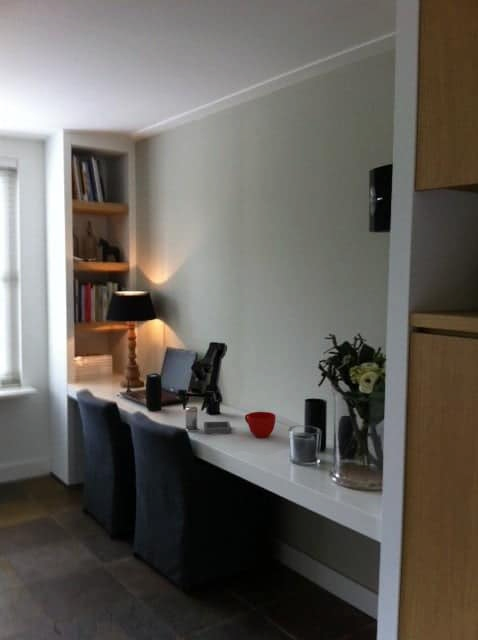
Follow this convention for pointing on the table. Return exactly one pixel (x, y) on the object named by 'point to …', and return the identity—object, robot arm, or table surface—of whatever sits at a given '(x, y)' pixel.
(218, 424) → the duct collar
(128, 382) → the eiffel tower figurine
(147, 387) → the portable speaker
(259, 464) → the table surface
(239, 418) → the table surface
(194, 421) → the grey cylinder
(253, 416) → the ceramic cup
